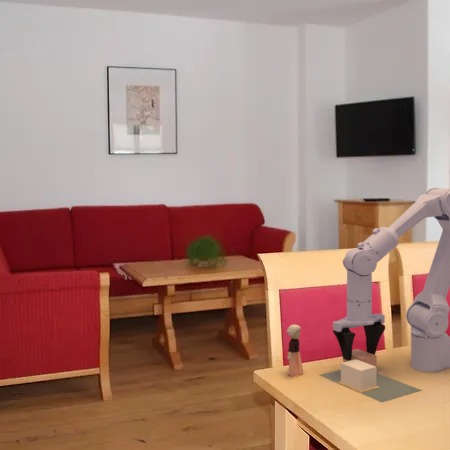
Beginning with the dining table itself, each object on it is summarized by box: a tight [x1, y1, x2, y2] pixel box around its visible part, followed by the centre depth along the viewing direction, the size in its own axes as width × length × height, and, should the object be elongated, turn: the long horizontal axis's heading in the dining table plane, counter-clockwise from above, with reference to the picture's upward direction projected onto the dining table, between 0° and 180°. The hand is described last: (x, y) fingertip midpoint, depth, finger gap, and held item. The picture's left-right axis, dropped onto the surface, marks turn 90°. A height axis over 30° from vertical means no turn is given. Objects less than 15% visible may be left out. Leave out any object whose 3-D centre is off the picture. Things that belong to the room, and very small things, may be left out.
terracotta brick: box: [342, 348, 378, 374], centre depth 139 cm, size 5×6×4 cm
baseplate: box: [319, 369, 423, 403], centre depth 132 cm, size 12×20×1 cm, turn 30°
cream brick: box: [340, 359, 376, 391], centre depth 131 cm, size 5×6×4 cm
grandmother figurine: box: [286, 324, 304, 378], centre depth 139 cm, size 8×4×13 cm, turn 168°
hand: (359, 356), depth 139 cm, fingers open, 7 cm apart
